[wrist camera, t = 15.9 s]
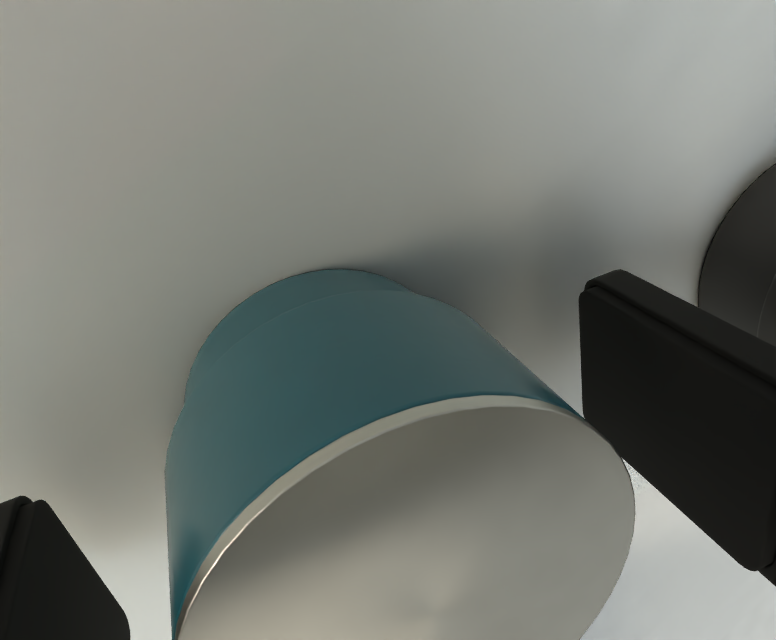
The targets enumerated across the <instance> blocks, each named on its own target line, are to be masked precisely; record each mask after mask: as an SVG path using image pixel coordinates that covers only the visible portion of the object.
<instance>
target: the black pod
mask: <svg viewBox="0 0 776 640" xmlns="http://www.w3.org/2000/svg"><path fill="white" fill-rule="evenodd" d="M699 307H700V309H702V310H704V311H706V312H708V313H710V314H712V315H714V316H716V317H718V318H720V319H722V320H724V321H726V322H728V323H730V324H732V325H734V326H736V327H737V328H739V329H741V330H743V331H745V332H747V333H749V334H751V335H753V336H755V337H757V338H759V339H761V340H763V341H765V342H767V343H769V344H771V345H773V346H775V347H776V164H775V165H774V166H772V167H771V168H770V169H768V170H767V171H766V172H764V173H763V174H762V175H761V176H760V177H759V178H758V179H757V180H755V181H754V182H753V183H752V184H751V185H750V187H749V188H748V189H747V190H746V191H745V192H744V193H743V194H742V195H741V197H740V198H739V199H738V200H737V202H736V203H735V204H734V205H733V207H732V208H731V210H730V211H729V213H728V214H727V216H726V217H725V219H724V220H723V222H722V224H721V226H720V227H719V229H718V231H717V233H716V235H715V237H714V239H713V241H712V243H711V246H710V248H709V250H708V253H707V256H706V259H705V262H704V266H703V270H702V274H701V279H700V286H699Z"/></svg>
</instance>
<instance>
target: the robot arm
mask: <svg viewBox="0 0 776 640" xmlns="http://www.w3.org/2000/svg"><path fill="white" fill-rule="evenodd" d="M579 323H580V350H581V376H582V403H583V415H584V418H585V420H586V421H587V422H588V423H589V424H591V425H592V426H593V427H594V428H595V429H596V430H597V431H598V432H600V433H601V434H602V435H603V436H604V437H605V438H606V439H607V440H609V441H610V443H611V444H612V445H613V447H614V448H615V449H616V451H617V452H618V453H619V455H620V456H621V457H622V458H623V459H624V460H625V461H626V462H627V463H628V464H630V465H631V466H632V467H633V468H634V469H635V470H636V471H637V472H638V473H640V474H641V475H642V476H643V477H644V478H645V479H646V480H647V481H648V482H650V483H651V484H652V485H653V486H654V487H655V488H656V489H657V490H658V491H659V492H661V493H662V494H663V495H664V496H665V497H666V498H667V499H668V500H669V501H671V502H672V503H673V504H674V505H675V506H676V507H677V508H678V509H679V510H680V511H682V512H683V513H684V514H685V515H686V516H687V517H688V518H689V519H690V520H692V521H693V522H694V523H695V524H696V525H697V526H698V527H699V528H700V529H701V530H703V531H704V532H705V533H706V534H707V535H708V536H709V537H710V538H711V539H713V540H714V541H715V542H716V543H717V544H718V545H719V546H720V547H721V548H723V549H724V550H725V551H726V552H727V553H728V554H729V555H730V556H731V557H732V558H734V559H735V560H736V561H737V562H738V563H739V564H740V565H742V566H743V567H744V568H746V569H748V570H750V571H757V570H758V571H759V572H760V573H761V574H762V575H763V576H765V577H766V578H767V579H768V580H769V581H770V582H771V583H772V584H774V585H775V586H776V347H775V346H773V345H771V344H769V343H767V342H765V341H763V340H761V339H759V338H757V337H755V336H753V335H751V334H749V333H747V332H745V331H743V330H741V329H739V328H737V327H736V326H734V325H732V324H730V323H728V322H726V321H724V320H722V319H720V318H718V317H716V316H714V315H712V314H710V313H708V312H706V311H704V310H702V309H700V308H698V307H696V306H694V305H692V304H690V303H688V302H686V301H684V300H682V299H680V298H678V297H676V296H674V295H672V294H670V293H668V292H666V291H664V290H662V289H660V288H658V287H656V286H654V285H653V284H651V283H649V282H647V281H645V280H643V279H641V278H639V277H637V276H635V275H633V274H631V273H629V272H627V271H624V270H621V269H619V270H614V271H612V272H609V273H607V274H604V275H601V276H599V277H596V278H593V279H591V280H589V281H588V282H587V283H586V285H585V290H584V291H583V292H582V293H580V296H579ZM0 640H130V629H129V624H128V620H127V617H126V615H125V613H124V611H123V609H122V608H121V606H120V605H119V604H118V602H117V601H116V599H115V598H114V596H113V595H112V594H111V592H110V591H109V589H108V588H107V587H106V585H105V584H104V582H103V581H102V579H101V578H100V577H99V575H98V574H97V572H96V571H95V569H94V568H93V567H92V565H91V564H90V562H89V561H88V560H87V558H86V557H85V555H84V554H83V552H82V551H81V550H80V548H79V547H78V545H77V544H76V543H75V541H74V540H73V538H72V537H71V535H70V534H69V533H68V531H67V530H66V528H65V527H64V525H63V524H62V523H61V521H60V520H59V518H58V517H57V516H56V514H55V513H54V511H53V510H52V508H51V507H50V506H49V504H48V503H47V502H46V501H44V500H37V501H35V502H32V501H31V499H29V498H28V497H26V496H19V497H16V498H14V499H11V500H8V501H6V502H3V503H0Z"/></svg>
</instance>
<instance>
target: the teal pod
mask: <svg viewBox="0 0 776 640" xmlns="http://www.w3.org/2000/svg"><path fill="white" fill-rule="evenodd" d="M165 491H166V514H167V536H168V559H169V581H170V604H171V626H172V640H579V639H580V638H581V637H582V636H583V634H584V633H585V632H586V630H587V629H588V628H589V626H590V625H591V624H592V622H593V621H594V620H595V618H596V617H597V616H598V614H599V612H600V611H601V609H602V608H603V606H604V604H605V603H606V601H607V600H608V598H609V596H610V595H611V593H612V591H613V589H614V587H615V585H616V583H617V581H618V579H619V577H620V575H621V572H622V569H623V567H624V564H625V561H626V559H627V556H628V553H629V549H630V545H631V541H632V537H633V531H634V521H635V499H634V491H633V487H632V483H631V479H630V475H629V473H628V471H627V468H626V466H625V464H624V462H623V460H622V458H621V456H620V455H619V453H618V452H617V451H616V449H615V448H614V447H613V445H612V444H611V443H610V441H609V440H607V439H606V438H605V437H604V436H603V435H602V434H601V433H600V432H598V431H597V430H596V429H595V428H594V427H593V426H592V425H591V424H589V423H588V422H587V421H586V420H585V419H584V418H583V417H582V416H580V415H579V414H578V413H577V412H576V411H575V410H574V409H573V408H572V407H570V406H569V405H568V404H567V403H566V402H565V401H564V400H563V399H561V398H560V397H559V396H558V395H557V394H556V393H555V392H554V391H552V390H551V389H550V388H549V387H548V386H547V385H546V384H545V383H544V382H542V381H541V380H540V379H539V378H538V377H537V376H536V375H535V374H533V373H532V372H531V371H530V370H529V369H528V368H527V367H526V366H524V365H523V364H522V363H521V362H520V361H519V360H518V359H517V358H515V357H514V356H513V355H512V354H511V353H510V352H509V351H508V350H507V349H505V348H504V347H503V346H502V345H501V344H500V343H499V342H498V341H496V340H495V339H494V338H493V337H492V336H491V335H490V334H489V333H487V332H486V331H485V330H484V329H483V328H482V327H481V326H480V325H478V324H477V323H476V322H475V321H474V320H473V319H471V318H470V317H469V316H468V315H466V314H464V313H463V312H461V311H459V310H458V309H456V308H455V307H453V306H451V305H449V304H446V303H444V302H441V301H439V300H436V299H434V298H431V297H427V296H423V295H419V294H415V293H413V292H411V291H410V290H409V289H407V288H405V287H404V286H402V285H400V284H399V283H397V282H395V281H393V280H390V279H388V278H385V277H383V276H381V275H377V274H373V273H369V272H365V271H357V270H348V269H334V270H321V271H314V272H308V273H304V274H300V275H297V276H293V277H289V278H287V279H284V280H282V281H279V282H277V283H274V284H272V285H270V286H268V287H266V288H264V289H262V290H261V291H259V292H257V293H255V294H253V295H252V296H250V297H249V298H248V299H246V300H245V301H244V302H242V303H241V304H239V305H238V306H237V307H236V308H234V309H233V310H232V311H231V312H230V313H229V314H228V315H227V316H226V317H225V318H224V319H223V320H221V322H220V323H219V324H218V325H217V326H216V328H215V329H214V330H213V331H212V332H211V334H210V335H209V336H208V338H207V339H206V341H205V343H204V344H203V346H202V347H201V349H200V350H199V352H198V354H197V357H196V359H195V361H194V363H193V365H192V368H191V371H190V374H189V378H188V381H187V385H186V392H185V400H184V407H183V409H182V411H181V413H180V415H179V417H178V420H177V422H176V424H175V426H174V429H173V432H172V436H171V439H170V443H169V446H168V449H167V457H166V465H165Z"/></svg>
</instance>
